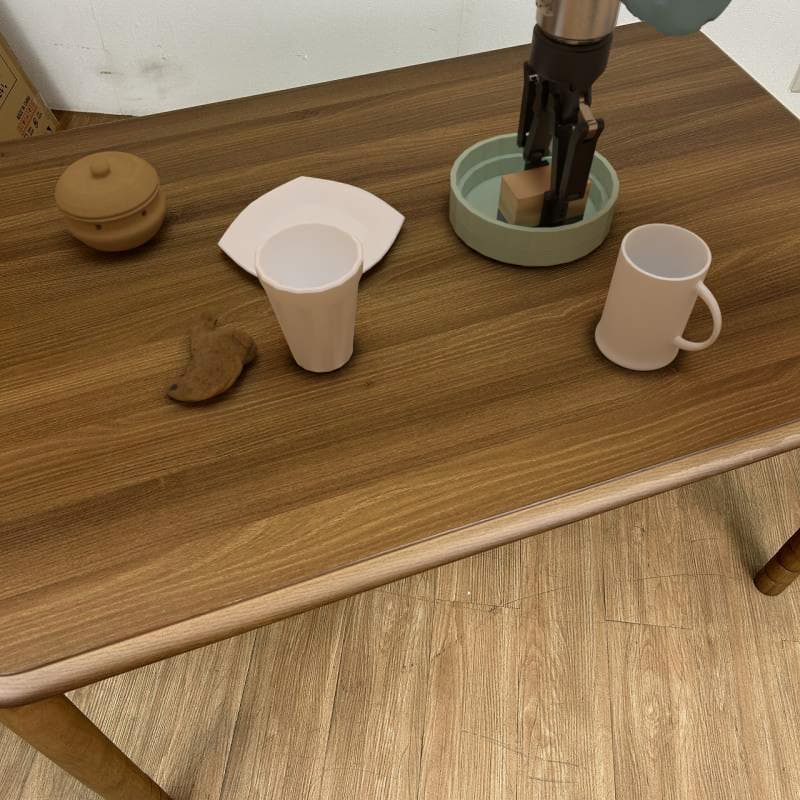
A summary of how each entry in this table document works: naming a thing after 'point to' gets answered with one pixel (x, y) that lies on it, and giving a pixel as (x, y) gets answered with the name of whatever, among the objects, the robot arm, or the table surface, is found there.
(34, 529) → the table surface
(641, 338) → the mug
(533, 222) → the block
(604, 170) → the bowl
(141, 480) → the table surface
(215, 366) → the ginger root
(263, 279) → the cup
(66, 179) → the pot
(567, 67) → the robot arm
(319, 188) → the plate
